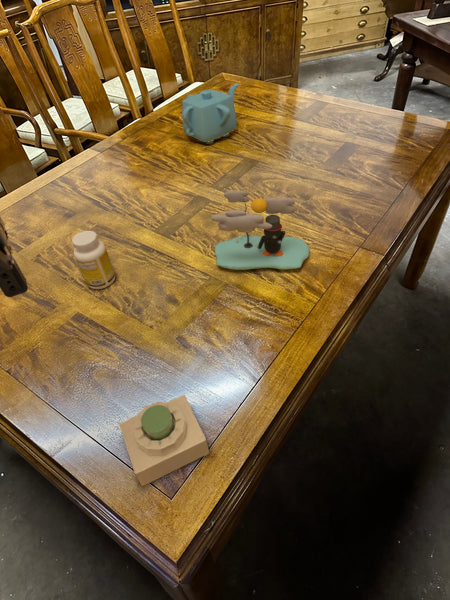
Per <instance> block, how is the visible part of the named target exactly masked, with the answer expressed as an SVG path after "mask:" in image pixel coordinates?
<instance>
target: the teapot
mask: <svg viewBox="0 0 450 600" xmlns="http://www.w3.org/2000/svg"><path fill="white" fill-rule="evenodd" d="M239 85H240V83H234V84H233V85H231V86H230V87H229V90H228V93H225V92H223V91H219V90H215V89H204V90H202V91H201V92H199V93H196V94H188V95H187V96H186V98H185V99H183V100H182V101H181V103H182V104H181V118H182V119H181V121H182V128H183V131H184V133H185V135H186V134H187V135H186V136H188V137H190V136H192V137H194V138H196V139H198V140H197V141H199V140H200V141H199V142H201V141H203V142H207V143H206V144H208V145H210V144H213V143H214V142H215V140H213V139H216V138H218V137H221V136H223V135H225V134H227V133H229V132H231V131H232V130H234V129H235V128H236V129H237V124H238V120H237V114H236V108H235V107H236V106H235V93H236V90H237V88H238V87H239ZM234 131H235V130H234ZM231 133H232V132H231ZM229 136H230V133H229V134H227V135H225V136H223V137H221V138H227V137H229ZM192 137H191V138H192ZM194 138H193V139H194ZM196 139H195V140H196ZM218 139H219V138H218ZM211 140H213V141H211ZM216 140H217V139H216ZM208 141H210V142H208ZM203 142H202V143H203Z"/></svg>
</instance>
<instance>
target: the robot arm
mask: <svg viewBox="0 0 450 600" xmlns="http://www.w3.org/2000/svg"><path fill="white" fill-rule="evenodd" d="M8 235H9V234H8V232H7V230H6V225H5V223H4V221H3V219H2V216H0V291H1V292H2V293H3V294H4V296H5V297H7V298H12V297H16V296H19V295H22V294H24V293H26V292H28V290H29V288H28V282H27V278H26V277H25V275H24V273H23V271H22V270H21V268H20V266H19V264H18V262H17V260H16V259H15V257H14V256H13V247H12V245H11V244H9V242H8V240H9V237H8Z"/></svg>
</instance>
